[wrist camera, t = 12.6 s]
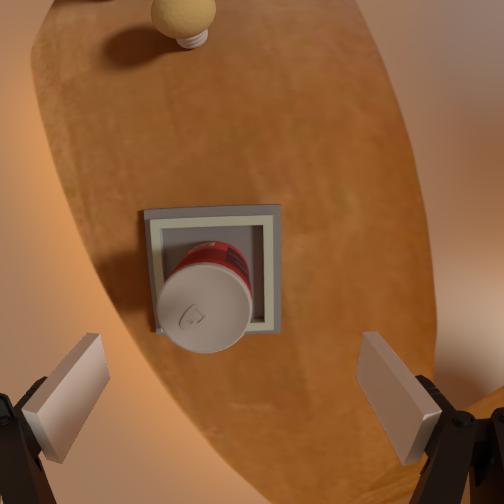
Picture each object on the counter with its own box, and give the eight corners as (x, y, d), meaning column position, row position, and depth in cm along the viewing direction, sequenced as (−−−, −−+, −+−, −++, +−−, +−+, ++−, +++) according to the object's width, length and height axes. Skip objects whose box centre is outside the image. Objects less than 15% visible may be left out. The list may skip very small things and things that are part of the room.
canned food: (167, 285, 36) (140, 325, 25) (202, 225, 35) (185, 244, 24) (225, 318, 37) (220, 369, 26) (262, 261, 36) (271, 295, 25)
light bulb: (228, 47, 31) (224, 5, 22) (177, 69, 32) (156, 33, 22) (207, 9, 30) (198, -37, 20) (158, 30, 30) (136, -11, 21)
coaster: (146, 209, 35) (140, 211, 33) (279, 204, 35) (282, 205, 33) (158, 331, 38) (154, 339, 36) (280, 329, 38) (282, 337, 36)
